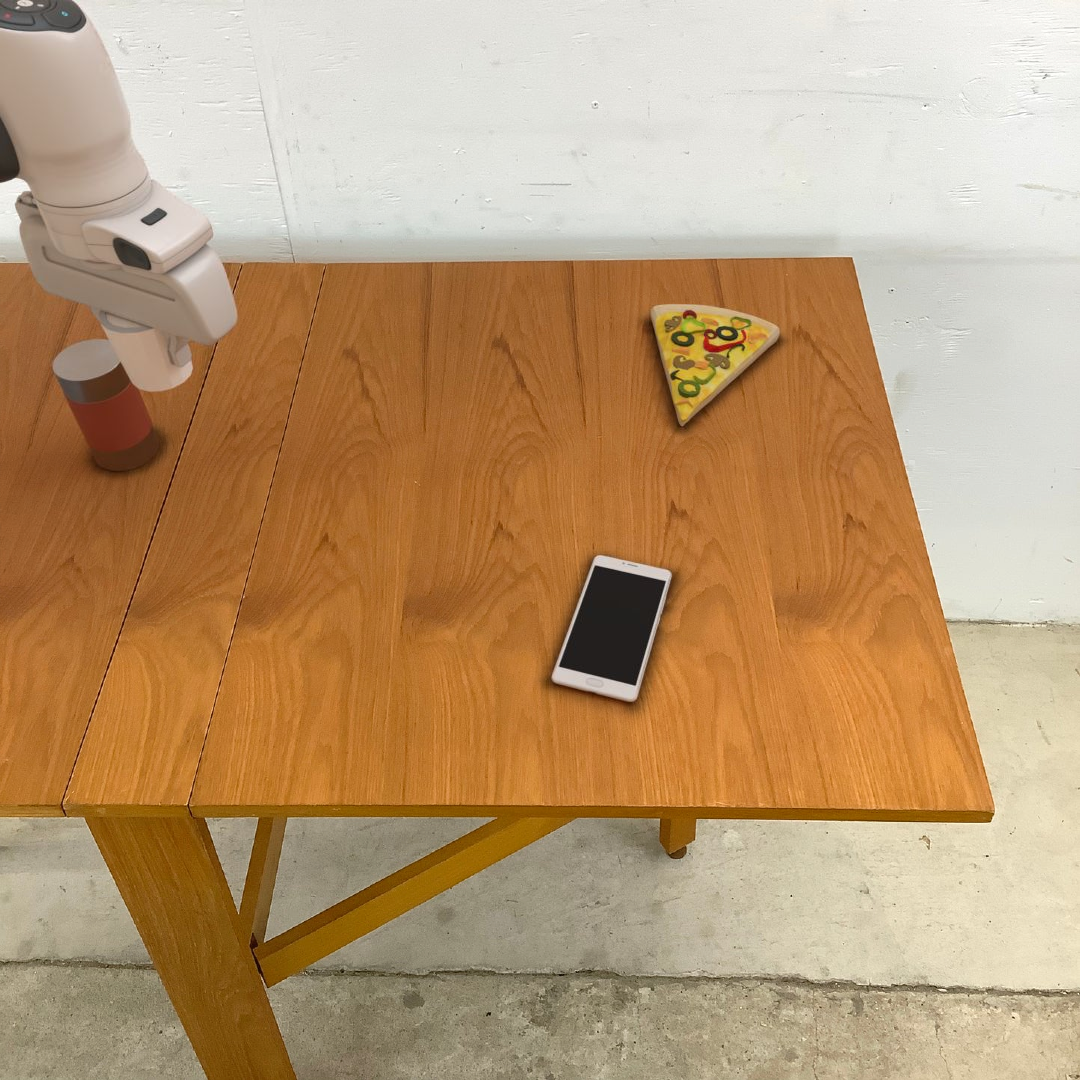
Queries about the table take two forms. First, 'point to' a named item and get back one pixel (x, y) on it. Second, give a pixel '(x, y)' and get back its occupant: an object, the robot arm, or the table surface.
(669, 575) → the smartphone
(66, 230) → the robot arm
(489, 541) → the table surface
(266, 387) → the table surface
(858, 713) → the table surface
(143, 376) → the shot glass
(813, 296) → the table surface
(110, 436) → the tin can
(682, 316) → the pizza slice
